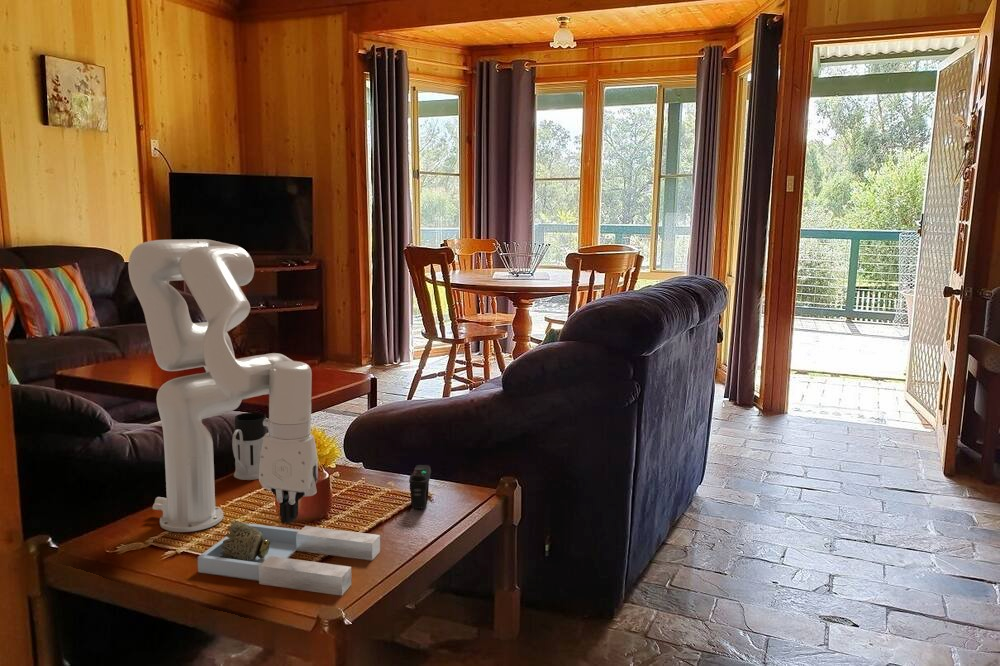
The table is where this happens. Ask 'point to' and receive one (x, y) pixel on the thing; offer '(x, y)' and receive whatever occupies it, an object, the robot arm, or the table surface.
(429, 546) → the table surface
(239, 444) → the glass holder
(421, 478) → the controller
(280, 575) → the groove rails
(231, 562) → the tray
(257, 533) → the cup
